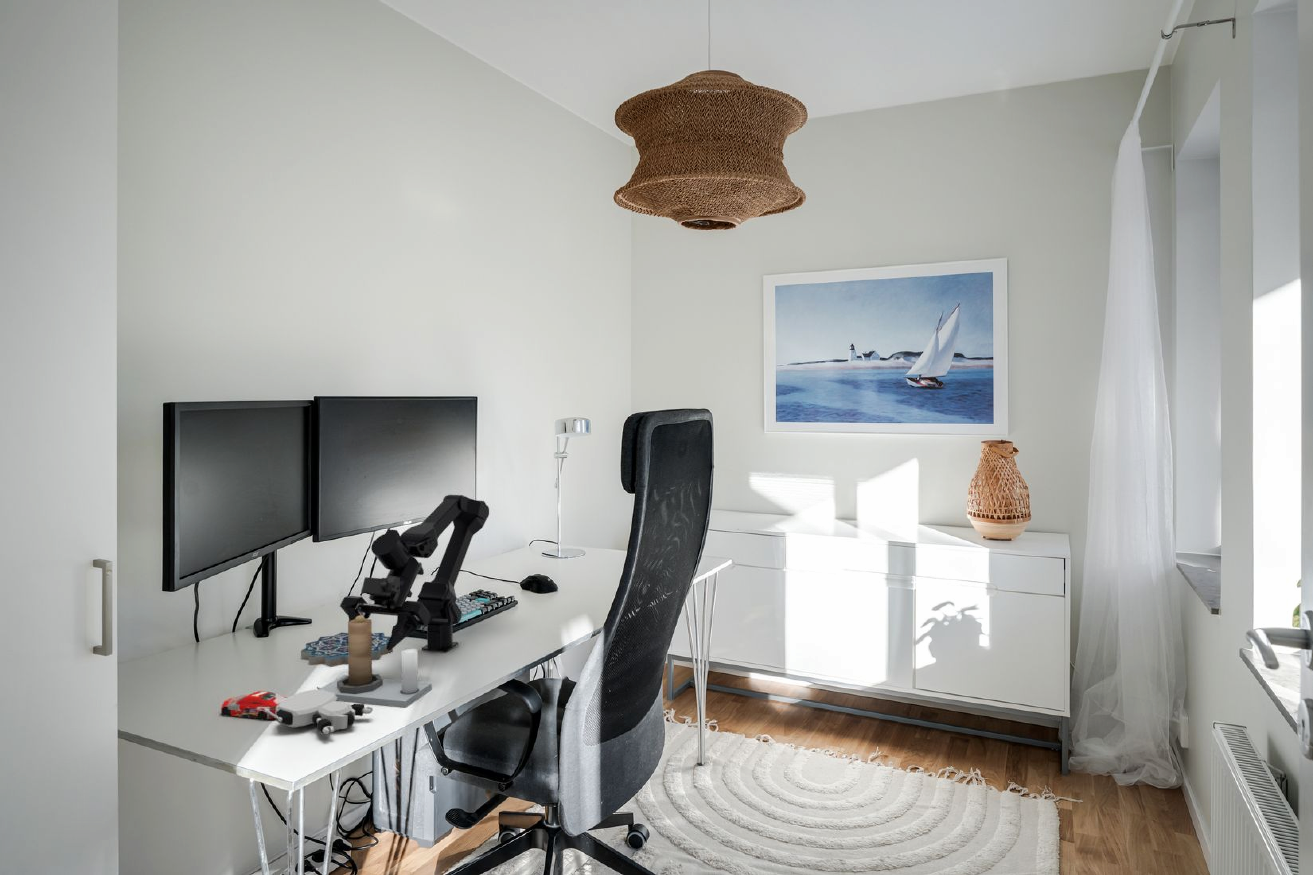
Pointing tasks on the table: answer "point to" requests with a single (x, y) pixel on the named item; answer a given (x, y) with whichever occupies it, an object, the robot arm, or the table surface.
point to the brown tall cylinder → (360, 651)
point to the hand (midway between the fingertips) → (368, 647)
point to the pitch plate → (384, 686)
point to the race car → (252, 705)
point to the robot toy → (318, 711)
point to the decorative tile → (340, 649)
